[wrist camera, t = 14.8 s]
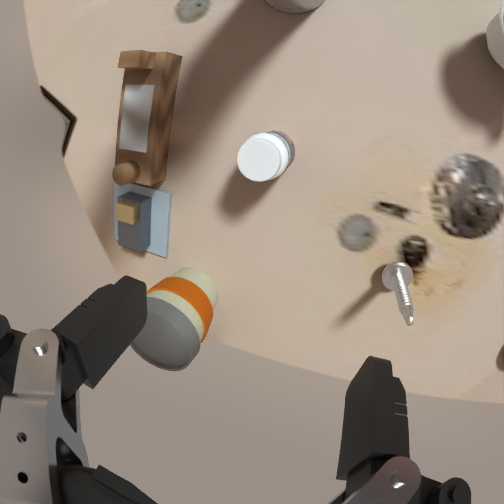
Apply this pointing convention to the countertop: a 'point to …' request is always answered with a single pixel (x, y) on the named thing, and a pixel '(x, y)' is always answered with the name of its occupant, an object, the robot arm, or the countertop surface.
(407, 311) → the screw
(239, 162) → the pill bottle
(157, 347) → the reusable coffee cup
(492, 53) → the teacup
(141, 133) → the plane body
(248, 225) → the countertop surface
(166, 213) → the rubber mat
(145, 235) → the lever cap
